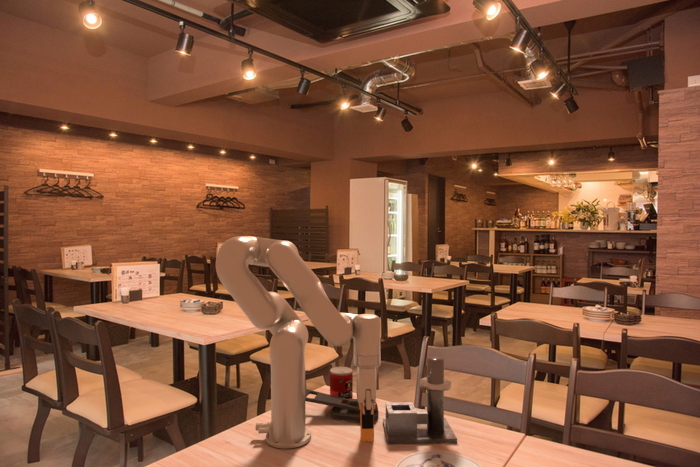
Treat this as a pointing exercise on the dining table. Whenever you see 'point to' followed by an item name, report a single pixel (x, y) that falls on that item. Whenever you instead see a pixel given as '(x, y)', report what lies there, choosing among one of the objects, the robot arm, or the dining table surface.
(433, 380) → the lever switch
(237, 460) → the dining table surface
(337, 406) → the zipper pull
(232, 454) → the dining table surface
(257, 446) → the dining table surface
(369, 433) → the orange tapered block
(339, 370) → the canned food
